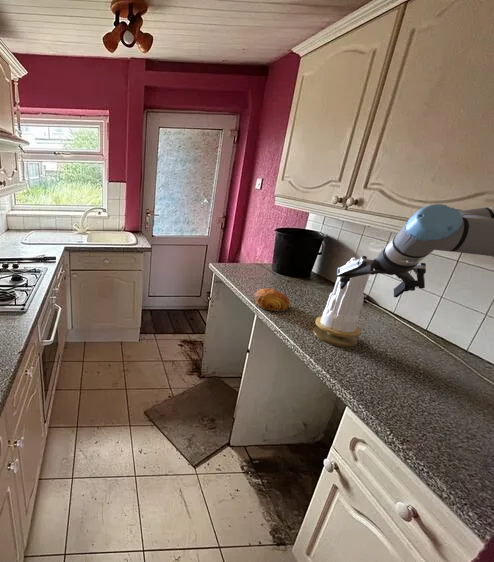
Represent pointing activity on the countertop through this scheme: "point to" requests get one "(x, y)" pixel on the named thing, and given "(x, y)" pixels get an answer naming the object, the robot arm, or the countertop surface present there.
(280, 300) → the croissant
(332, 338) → the stand
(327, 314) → the decorative vase
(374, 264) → the robot arm
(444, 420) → the countertop surface
